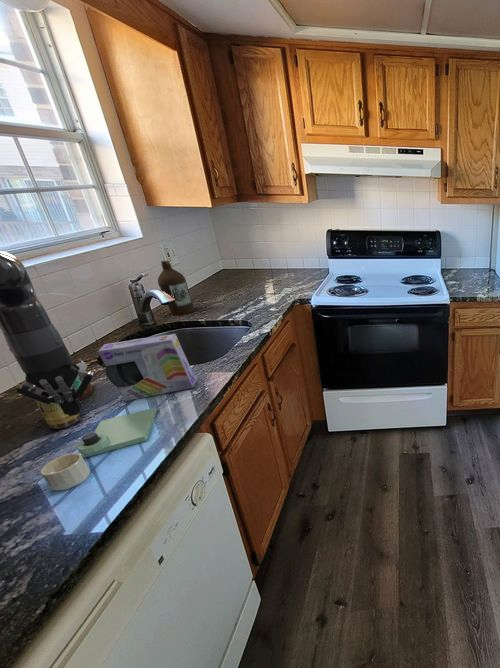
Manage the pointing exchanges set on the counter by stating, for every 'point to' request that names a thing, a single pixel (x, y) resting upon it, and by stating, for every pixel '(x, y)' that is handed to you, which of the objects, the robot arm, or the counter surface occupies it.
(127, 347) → the cake pan box
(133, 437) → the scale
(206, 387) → the counter surface
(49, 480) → the bowl
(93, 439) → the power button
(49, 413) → the sauce bottle
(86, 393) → the food container
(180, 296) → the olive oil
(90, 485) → the counter surface
